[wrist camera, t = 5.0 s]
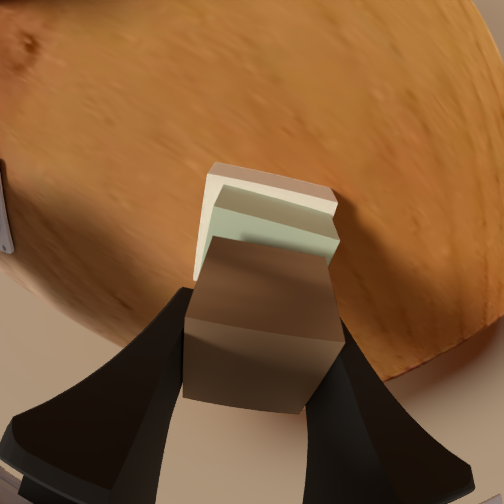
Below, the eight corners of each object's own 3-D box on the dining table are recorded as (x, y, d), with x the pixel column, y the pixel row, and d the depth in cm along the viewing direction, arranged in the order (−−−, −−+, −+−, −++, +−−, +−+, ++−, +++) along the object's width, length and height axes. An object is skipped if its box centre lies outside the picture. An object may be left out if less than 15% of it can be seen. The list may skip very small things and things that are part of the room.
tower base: (202, 255, 18) (193, 280, 16) (217, 159, 15) (207, 173, 13) (298, 275, 18) (300, 301, 16) (328, 184, 15) (338, 202, 13)
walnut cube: (202, 317, 12) (182, 397, 9) (212, 235, 10) (184, 316, 7) (295, 333, 12) (298, 414, 9) (324, 257, 10) (345, 342, 7)
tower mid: (203, 272, 16) (193, 304, 13) (223, 184, 13) (213, 206, 11) (294, 295, 16) (296, 328, 14) (329, 213, 13) (340, 240, 11)
